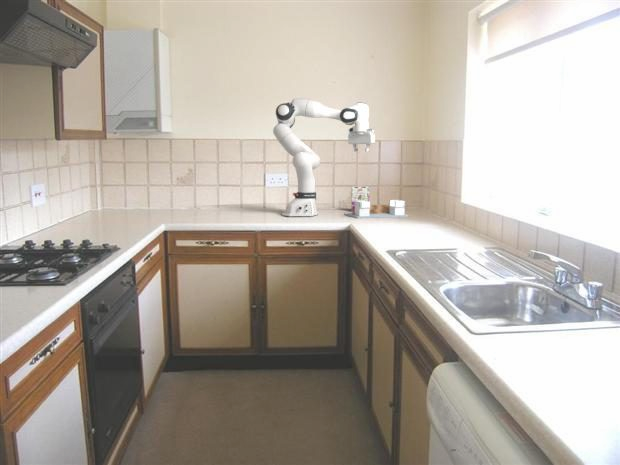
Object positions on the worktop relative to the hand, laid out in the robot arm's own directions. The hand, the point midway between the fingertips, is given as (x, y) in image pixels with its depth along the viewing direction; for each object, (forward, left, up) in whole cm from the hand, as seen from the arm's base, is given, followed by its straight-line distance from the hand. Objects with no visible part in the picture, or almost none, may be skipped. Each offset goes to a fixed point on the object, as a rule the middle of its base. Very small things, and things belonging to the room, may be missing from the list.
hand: (361, 151), depth 337 cm
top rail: (+4, -11, -38) cm, 40 cm away
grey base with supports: (+4, -15, -39) cm, 42 cm away
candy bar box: (+4, +8, -39) cm, 40 cm away
